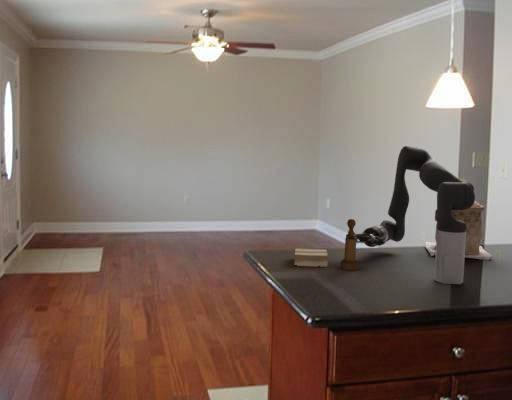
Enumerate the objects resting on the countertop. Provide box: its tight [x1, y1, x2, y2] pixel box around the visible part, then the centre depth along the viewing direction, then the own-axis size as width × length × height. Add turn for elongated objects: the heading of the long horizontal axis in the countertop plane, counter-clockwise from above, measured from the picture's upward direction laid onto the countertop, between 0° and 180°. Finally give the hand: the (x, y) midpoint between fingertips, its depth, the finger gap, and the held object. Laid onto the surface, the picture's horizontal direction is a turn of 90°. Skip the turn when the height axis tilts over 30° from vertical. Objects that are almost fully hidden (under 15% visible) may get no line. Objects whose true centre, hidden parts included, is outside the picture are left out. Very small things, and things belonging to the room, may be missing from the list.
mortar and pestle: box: [340, 218, 360, 271], centre depth 209 cm, size 7×6×18 cm
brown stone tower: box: [424, 178, 493, 261], centre depth 241 cm, size 25×25×32 cm
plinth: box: [293, 247, 329, 268], centre depth 218 cm, size 12×12×4 cm
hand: (357, 241), depth 214 cm, fingers open, 8 cm apart
